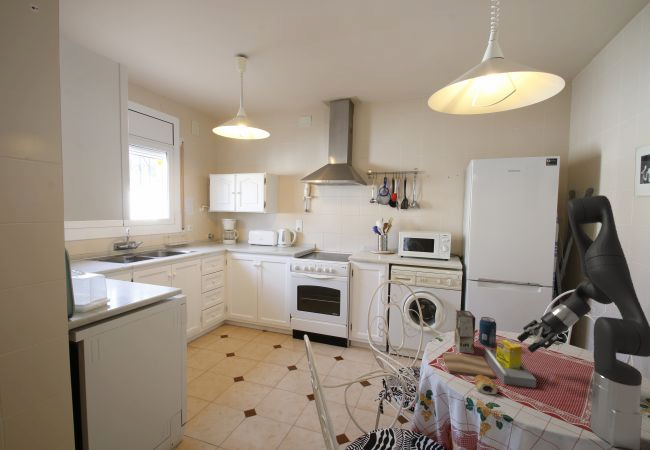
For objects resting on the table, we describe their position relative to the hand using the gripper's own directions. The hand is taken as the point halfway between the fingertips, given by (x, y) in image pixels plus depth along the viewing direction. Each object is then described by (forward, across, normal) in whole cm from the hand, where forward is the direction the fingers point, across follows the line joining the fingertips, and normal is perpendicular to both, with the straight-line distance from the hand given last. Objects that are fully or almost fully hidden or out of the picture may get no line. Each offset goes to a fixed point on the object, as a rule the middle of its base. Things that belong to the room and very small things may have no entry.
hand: (523, 345), depth 111 cm
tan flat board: (+22, 0, -7) cm, 23 cm away
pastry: (+21, +14, -5) cm, 26 cm away
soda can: (+12, -23, +4) cm, 26 cm away
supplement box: (+12, 0, +4) cm, 12 cm away
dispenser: (+11, 0, +4) cm, 12 cm away
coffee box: (+20, -16, -4) cm, 26 cm away
